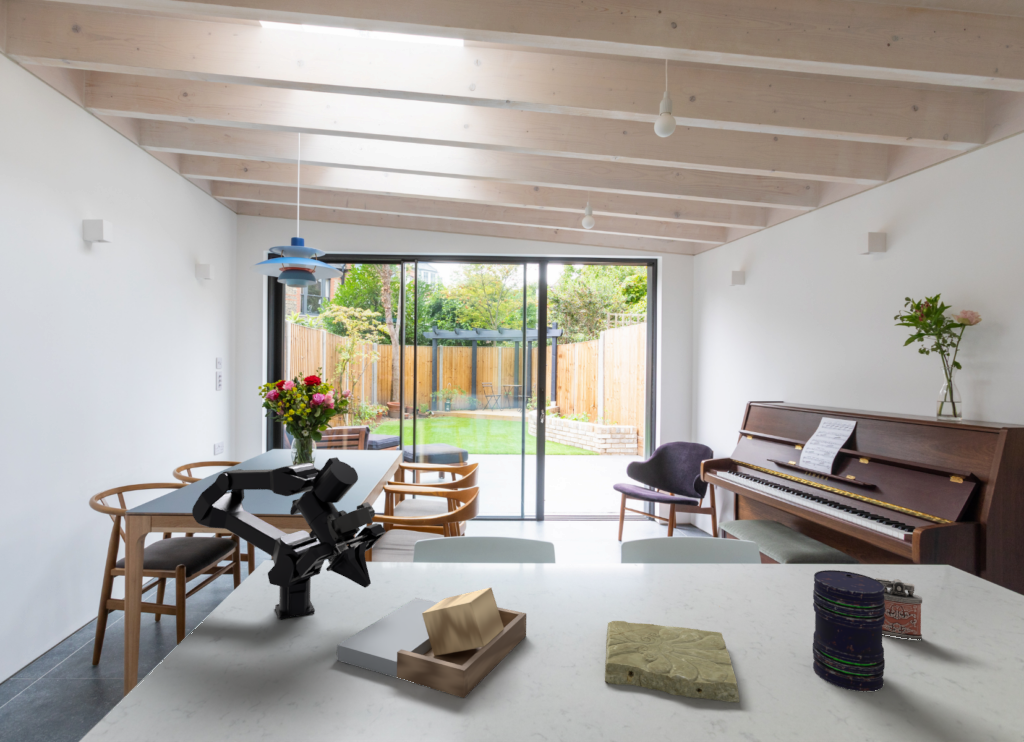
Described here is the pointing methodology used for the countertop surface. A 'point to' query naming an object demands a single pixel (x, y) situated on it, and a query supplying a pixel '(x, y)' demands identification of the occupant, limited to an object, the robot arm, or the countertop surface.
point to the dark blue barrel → (848, 630)
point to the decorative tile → (670, 660)
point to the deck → (388, 639)
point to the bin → (462, 660)
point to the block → (463, 622)
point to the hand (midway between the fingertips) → (368, 585)
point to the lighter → (901, 610)
